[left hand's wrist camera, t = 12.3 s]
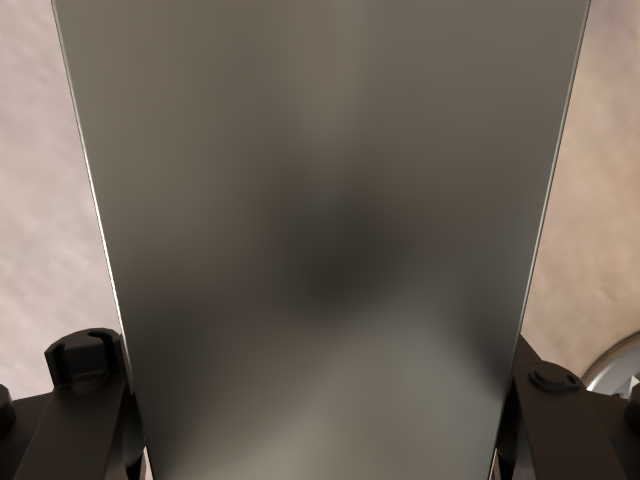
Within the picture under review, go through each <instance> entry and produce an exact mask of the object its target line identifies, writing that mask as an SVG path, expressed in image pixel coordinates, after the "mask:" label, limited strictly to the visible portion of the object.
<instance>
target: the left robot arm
mask: <svg viewBox="0 0 640 480" xmlns="http://www.w3.org/2000/svg"><path fill="white" fill-rule="evenodd" d="M44 354H45V358H46V361H47V364H48V368H49V371H50V374H51V378H52V381H53V385H54V389H53V391H52V392H50V393H46V394H42V395H37V396H32V397H28V398H23V399H18V400H14V401H12V399H11V396H10V393H9V391H8V389H7V388H6V387H5V386H3V385H2V384H0V480H145V474H146V461H145V456H144V451H143V450H144V448H145V446H146V444H145V439H144V435H143V430H142V425H141V421H140V416H139V411H138V406H137V402H136V397H135V392H134V388H133V383H132V378H131V374H130V369H129V364H128V360H127V355H126V350H125V345H124V341H123V336H122V334H120V335H119V334H118V333H117V332H115V331H114V330H112V329H107V328H90V329H86V330H81V331H77V332H74V333H72V334H69V335H67V336H65V337H62V338H61V339H59V340H58V341H56V342H55V343H53V344H51V345H50V347H49V348H48V349H47V350H46V351H45V352H44ZM496 448H497V451H496V456H495V460H494V465H493V470H492V475H491V479H490V480H640V333H639V334H637V335H634V336H632V337H630V338H628V339H627V340H625V341H623V342H621V343H620V344H618V345H616V346H615V347H613V348H612V349H611V350H609V351H608V352H606V353H605V354H604V355H603V356H602V357H600V358H599V359H598V360H597V361H596V362H595V363H594V364H593V365H592V366H591V367H590V368H589V369H588V370H587V372H586V373H585V374H584V375H583V377H582V378H581V380H580V378H579V377H577V376H576V375H575V374H573V373H572V372H571V371H569V370H567V369H565V368H563V367H561V366H559V365H557V364H554V363H550V362H547V361H543V360H541V358H540V357H539V356H538V355H537V354H536V352H535V351H534V350H533V349H532V347H531V346H530V345H529V344H528V343H527V341H526V340H525V339H524V338H523V336H522V335H521V334H520V336H519V341H518V346H517V351H516V355H515V360H514V365H513V369H512V374H511V379H510V383H509V388H508V393H507V398H506V402H505V407H504V412H503V416H502V421H501V426H500V430H499V435H498V440H497V445H496Z"/></svg>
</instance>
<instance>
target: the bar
mask: <svg viewBox="0 0 640 480" xmlns="http://www.w3.org/2000/svg"><path fill="white" fill-rule="evenodd" d="M51 3H52V8H53V12H54V17H55V22H56V27H57V31H58V36H59V41H60V45H61V50H62V55H63V59H64V64H65V69H66V73H67V78H68V83H69V88H70V92H71V97H72V102H73V106H74V111H75V116H76V120H77V125H78V130H79V134H80V139H81V144H82V148H83V153H84V158H85V163H86V167H87V172H88V177H89V181H90V186H91V191H92V195H93V200H94V205H95V209H96V214H97V219H98V224H99V228H100V233H101V238H102V242H103V247H104V252H105V256H106V261H107V266H108V270H109V275H110V280H111V285H112V289H113V294H114V299H115V303H116V308H117V313H118V317H119V322H120V327H121V331H122V336H123V341H124V345H125V350H126V355H127V360H128V364H129V369H130V374H131V378H132V383H133V388H134V392H135V397H136V402H137V406H138V411H139V416H140V421H141V425H142V430H143V435H144V439H145V444H146V449H147V453H148V458H149V463H150V467H151V472H152V477H153V480H489V477H490V473H491V468H492V463H493V459H494V454H495V449H496V445H497V440H498V435H499V430H500V426H501V421H502V416H503V412H504V407H505V402H506V398H507V393H508V388H509V383H510V379H511V374H512V369H513V365H514V360H515V355H516V351H517V346H518V341H519V336H520V332H521V327H522V322H523V318H524V313H525V308H526V304H527V299H528V294H529V289H530V285H531V280H532V275H533V271H534V266H535V261H536V257H537V252H538V247H539V242H540V238H541V233H542V228H543V224H544V219H545V214H546V210H547V205H548V200H549V195H550V191H551V186H552V181H553V177H554V172H555V167H556V163H557V158H558V153H559V148H560V144H561V139H562V134H563V130H564V125H565V120H566V116H567V111H568V106H569V101H570V97H571V92H572V87H573V83H574V78H575V73H576V69H577V64H578V59H579V54H580V50H581V45H582V40H583V36H584V31H585V26H586V22H587V17H588V12H589V7H590V3H591V0H51Z"/></svg>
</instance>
